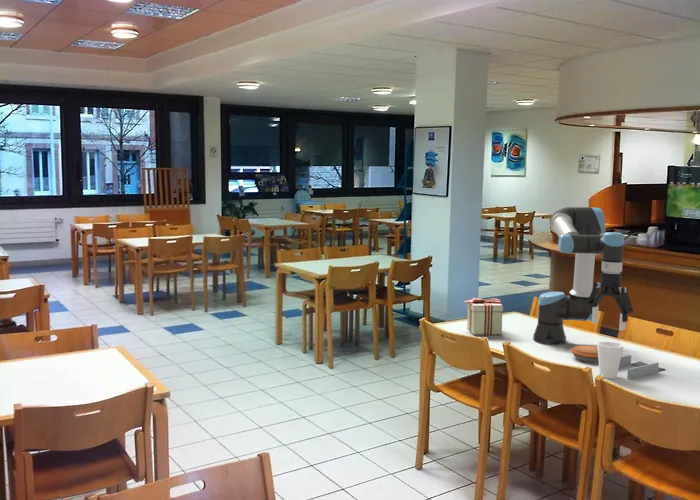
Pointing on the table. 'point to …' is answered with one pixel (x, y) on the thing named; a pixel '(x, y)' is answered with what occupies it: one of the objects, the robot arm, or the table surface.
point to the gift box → (484, 316)
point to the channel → (638, 368)
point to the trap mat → (645, 364)
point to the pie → (586, 353)
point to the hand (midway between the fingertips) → (608, 326)
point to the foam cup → (609, 358)
